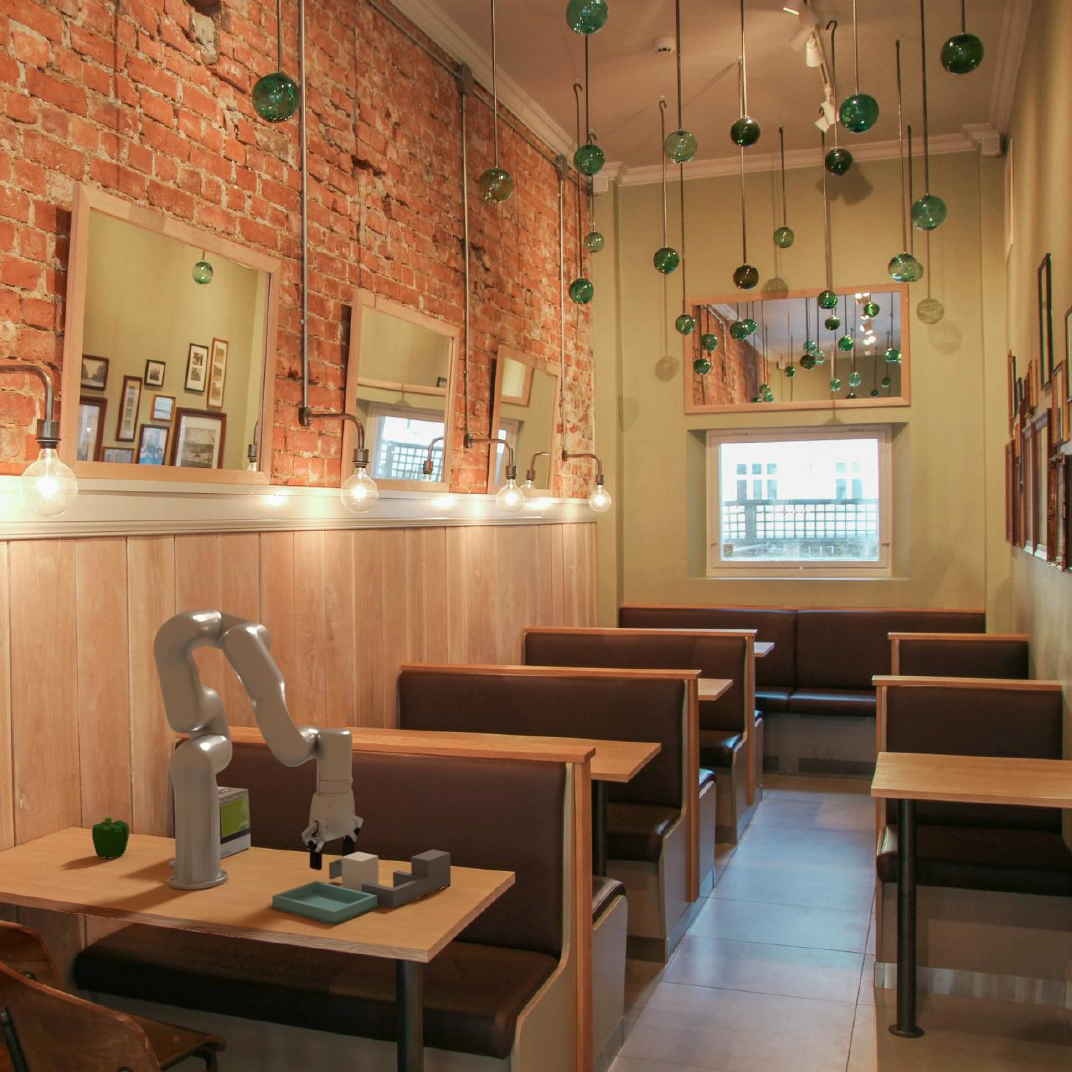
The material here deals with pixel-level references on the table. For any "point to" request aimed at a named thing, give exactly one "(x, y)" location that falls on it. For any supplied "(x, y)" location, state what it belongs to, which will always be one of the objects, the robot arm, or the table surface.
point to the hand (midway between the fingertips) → (332, 863)
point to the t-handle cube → (355, 870)
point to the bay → (414, 879)
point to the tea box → (234, 820)
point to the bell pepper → (110, 837)
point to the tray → (325, 902)
